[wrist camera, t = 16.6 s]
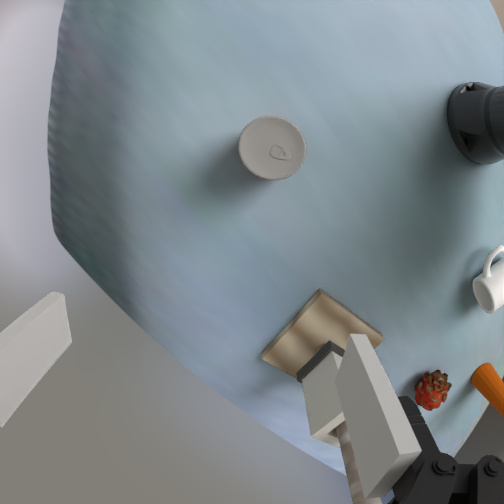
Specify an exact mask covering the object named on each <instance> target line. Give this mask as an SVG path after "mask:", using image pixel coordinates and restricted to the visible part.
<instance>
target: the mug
mask: <svg viewBox="0 0 504 504" xmlns="http://www.w3.org/2000/svg"><path fill="white" fill-rule="evenodd" d="M499 252H502V253H503V255H504V246H503V245H500V246H497V247H496V248H494V249H493V250H492V251H491V252H490V253H489V255H488V256H487V258H486V260H485V263H484V266H483V273H481V274H480V275H479V276H477V277H476V278H474V280H473V283H472V287H473V292H474V295H475V297H476V300H477V302H478V303H479V305H480V306H481V308H482V309H483V310H484V311H485V312H487V313H490V314H491V313H493V312H494V311H496V310H497V309H498V308H500V307H501V306H502V305H504V257H503V258H502V259H500V260H499V261H498V262H496V263H495V264H494V265H492V266H491V267H490V265H491V262H492V260H493V258H494V257H495V256H496V255H497V254H498V253H499Z"/></svg>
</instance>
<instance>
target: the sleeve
mask: <svg viewBox="0 0 504 504" xmlns="http://www.w3.org/2000/svg"><path fill="white" fill-rule="evenodd" d="M342 358H343V357H341V356H339V355H338V354H336V353H334V352H333V351H331V352H330V353H329V354H328V355H327V356H326V357H325V358H324V359H323V360H322V361H321V362H320V363H319V364H318V365H317V366H316V367H315V368H314V369H313V370H312V371H311V372H310V373H309V374H308V375H307V376H306V377H305V378H303V379H302V384H303V390H304V397H305V403H306V409H307V415H308V421H309V428H310V434H311V437H313V438H316V439H318V440H321V441H324V442H326V443H329V444H331V445H334V446H337V447H339V448H340V443H339V439H338V435H337V431H336V427H337V426H338V425H339V424H341V423H342V422H343V421H344V420H345V417H344V414H343V410H342V406H341V403H340V399H339V395H338V392H337V388H336V384H335V379H336V376H337V373H338V370H339V367H340V364H341V361H342Z"/></svg>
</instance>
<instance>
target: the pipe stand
mask: <svg viewBox="0 0 504 504" xmlns="http://www.w3.org/2000/svg"><path fill="white" fill-rule="evenodd" d="M350 334H366V335H367V337H368V339H369V341H370V343H371V345H372V347H373V349H375V348H376V347H377V346H378V345H379V344H380V343H381V342H382V341H383V339H384V338H383V336H382V334H381V333H380V332H378V331H377V330H376V329H374V328H373V327H372V326H370V325H369V324H368V323H366V322H365V321H363V320H362V319H361V318H359V317H358V316H357V315H355V314H354V313H353V312H351V311H350V310H348V309H347V308H346V307H344V306H343V305H342V304H340V303H339V302H337V301H336V300H335V299H333V298H332V297H331V296H329V295H328V294H326V293H325V292H324V291H322V290H321V289H319V290H318V291H317V292H316V293H315V294H314V296H313V297H312V298H311V299H310V300H309V301H308V302H307V304H306V305H305V306H304V307H303V308H302V309H301V310H300V311H299V312H298V314H297V315H296V316H295V317H294V318H293V319H292V320H291V321H290V322H289V324H288V325H287V326H286V327H285V328H284V329H283V330H282V331H281V332H280V333H279V334H278V336H277V337H276V338H275V339H274V340H273V341H272V342H271V343H270V344H269V345H268V346H267V347H266V348H265V349H264V350H263V351H262V359H263V360H265V361H266V362H268V363H270V364H271V365H273V366H275V367H277V368H278V369H280V370H282V371H284V372H286V373H287V374H289V375H291V376H293V377H295V378H296V379H297V375H296V373H297V372H298V371H299V370H300V369H301V368H302V367H303V366H304V365H305V364H306V363H307V362H308V361H309V360H310V359H311V358H312V357H313V356H314V355H315V354H316V353H317V352H318V351H319V350H320V349H321V348H322V347H323V346H324V345H325V344H326V343H327V342H328V341H329V340H330V341H332V342H333V343H335V344H336V345H338V346H339V347H341V348H343V349H344V350H345V349H346V345H347V342H348V339H349V335H350ZM336 431H337V435H338V439H339V443H340V448H341V452H342V456H343V461H344V465H345V469H346V474H347V478H348V483H349V488H350V492H351V497H352V501H353V504H382V502H381V499H380V497H377V498H371V499H365V498H364V494H363V490H362V485H361V481H360V477H359V473H358V468H357V464H356V460H355V456H354V452H353V448H352V444H351V440H350V437H349V433H348V429H347V425H346V421H345V420H344V421H343V422H342V423H341V424H339V425H338V426H337V427H336Z"/></svg>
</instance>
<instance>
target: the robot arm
mask: <svg viewBox="0 0 504 504" xmlns="http://www.w3.org/2000/svg"><path fill="white" fill-rule="evenodd" d="M447 116H448V124H449V129H450V132H451V135H452V138H453V140H454V142H455V144H456V145H457V147H458V149H459V150H460V151H461V152H462V154H463V155H464V156H466V157H467V158H468V159H470V160H471V161H473V162H476V163H481V164H493V163H496V162H498V161H500V160H503V159H504V86H501V87H494V86H491V85H487V84H483V83H480V82H469V83H465V84H462V85H460V86H458V87H457V88H456V89H455V90H454V91H453V93H452V94H451V97H450V99H449V103H448V111H447ZM71 343H72V339H71V334H70V328H69V323H68V317H67V311H66V305H65V298H64V294H61V293H57V292H53V291H52V292H51V293H49V294H48V295H47V296H45V297H44V298H43V299H42V300H40V301H39V302H38V303H36V304H35V305H34V306H33V307H31V308H30V309H29V310H27V311H26V312H25V313H24V314H23V315H21V316H20V317H19V318H18V319H16V320H15V321H14V322H13V323H12V324H10V325H9V326H8V327H7V328H6V329H5V330H3V331H2V332H1V333H0V427H1V428H2V427H3V426H4V424H5V423H6V422H7V420H8V419H9V418H10V417H11V415H12V414H13V413H14V411H15V410H16V409H17V407H18V406H19V405H20V404H21V402H22V401H23V400H24V399H25V398H26V396H27V395H28V394H29V393H30V391H31V390H32V389H33V388H34V386H35V385H36V384H37V383H38V382H39V380H40V379H41V378H42V377H43V376H44V374H45V373H46V372H47V371H48V370H49V368H50V367H51V366H52V365H53V364H54V362H55V361H56V360H57V359H58V358H59V357H60V356H61V354H62V353H63V352H64V351H65V350H66V349H67V348H68V347H69V345H70V344H71ZM335 384H336V388H337V392H338V395H339V399H340V403H341V406H342V410H343V414H344V417H345V421H346V425H347V429H348V433H349V437H350V440H351V444H352V448H353V452H354V456H355V460H356V464H357V468H358V473H359V477H360V481H361V485H362V490H363V494H364V498H365V499H371V498H377V497H383V496H385V495H386V494H387V493H388V492H389V491H390V490H391V489H393V492H394V495H395V497H394V498H393V499H392V500H391V501H390V502H389V503H388V504H504V463H503V462H502V460H501V459H499V458H498V457H496V456H493V455H486V456H484V457H482V458H481V459H480V460H479V461H478V463H477V464H476V465H473V464H457V462H456V461H455V459H454V458H453V457H452V456H450V455H448V454H445V453H441V452H440V451H439V449H438V447H437V445H436V443H435V441H434V439H433V437H432V435H431V433H430V431H429V428H428V426H427V424H425V420H424V419H423V417H422V416H421V413H420V411H419V409H418V407H417V405H416V404H415V403H414V402H413V401H412V400H411V399H410V398H409V397H408V396H402V397H397V395H396V393H395V391H394V389H393V387H392V385H391V383H390V381H389V379H388V377H387V375H386V373H385V371H384V369H383V367H382V365H381V363H380V361H379V359H378V357H377V355H376V353H375V351H374V349H373V347H372V345H371V343H370V341H369V339H368V337H367V335H366V334H350V335H349V339H348V342H347V345H346V349H345V352H344V355H343V358H342V361H341V364H340V367H339V370H338V373H337V376H336V379H335Z"/></svg>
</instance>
